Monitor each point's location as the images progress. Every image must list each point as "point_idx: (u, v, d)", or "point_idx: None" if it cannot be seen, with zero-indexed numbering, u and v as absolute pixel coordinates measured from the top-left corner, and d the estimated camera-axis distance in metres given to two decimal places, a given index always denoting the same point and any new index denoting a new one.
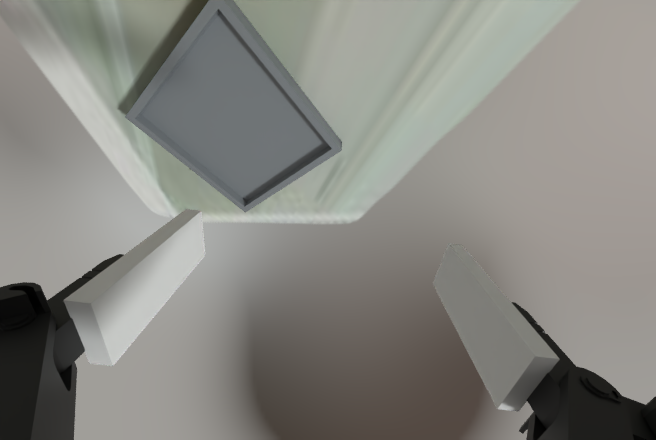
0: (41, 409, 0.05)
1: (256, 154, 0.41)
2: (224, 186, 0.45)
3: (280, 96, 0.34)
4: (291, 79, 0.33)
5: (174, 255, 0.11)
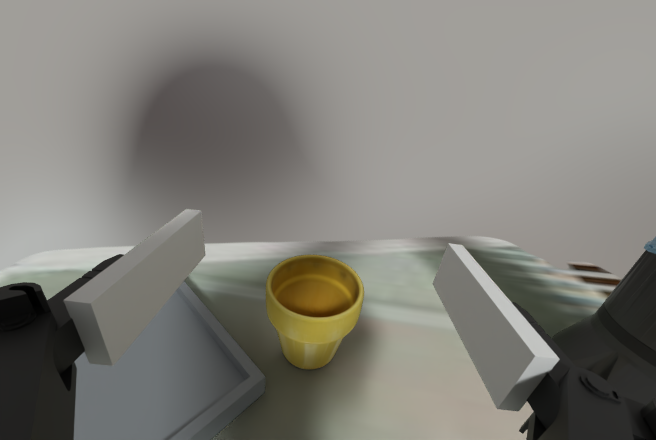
0: (41, 409, 0.05)
1: None
2: None
3: None
4: None
5: (174, 255, 0.11)
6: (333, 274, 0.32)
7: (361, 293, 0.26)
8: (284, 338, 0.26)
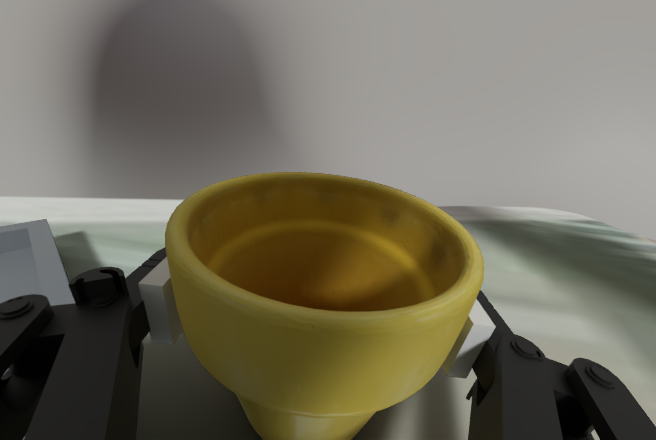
0: (118, 384, 0.06)
1: None
2: None
3: None
4: None
5: None
6: (364, 218, 0.14)
7: (471, 240, 0.08)
8: None
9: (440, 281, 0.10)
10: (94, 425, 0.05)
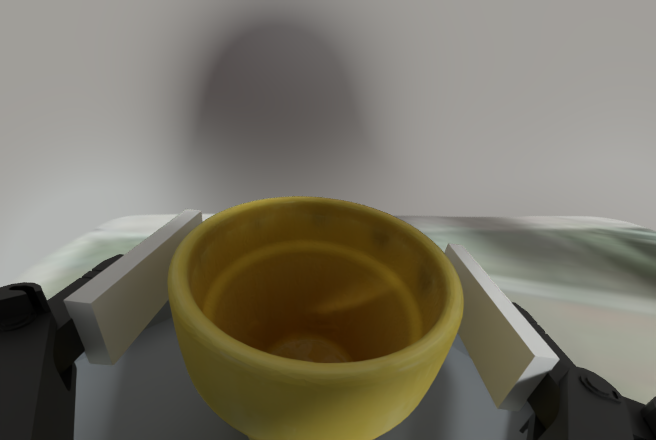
0: (41, 409, 0.05)
1: None
2: None
3: None
4: None
5: None
6: (356, 239, 0.14)
7: (453, 274, 0.09)
8: None
9: (426, 308, 0.10)
10: None
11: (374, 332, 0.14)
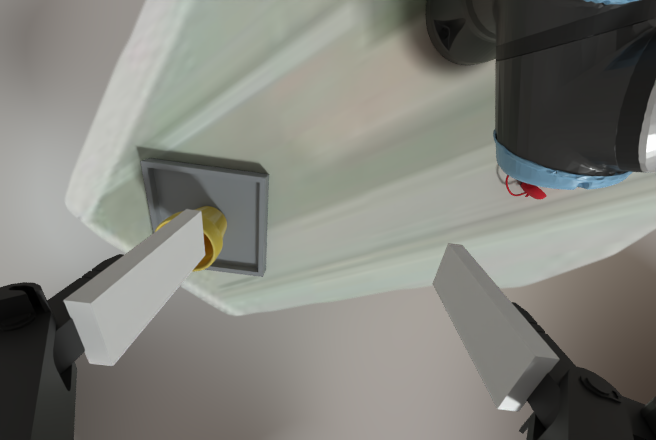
0: (41, 409, 0.05)
1: None
2: None
3: (253, 228, 0.52)
4: (266, 227, 0.52)
5: (174, 255, 0.11)
6: None
7: (209, 237, 0.42)
8: None
9: None
10: None
11: None
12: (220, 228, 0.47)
